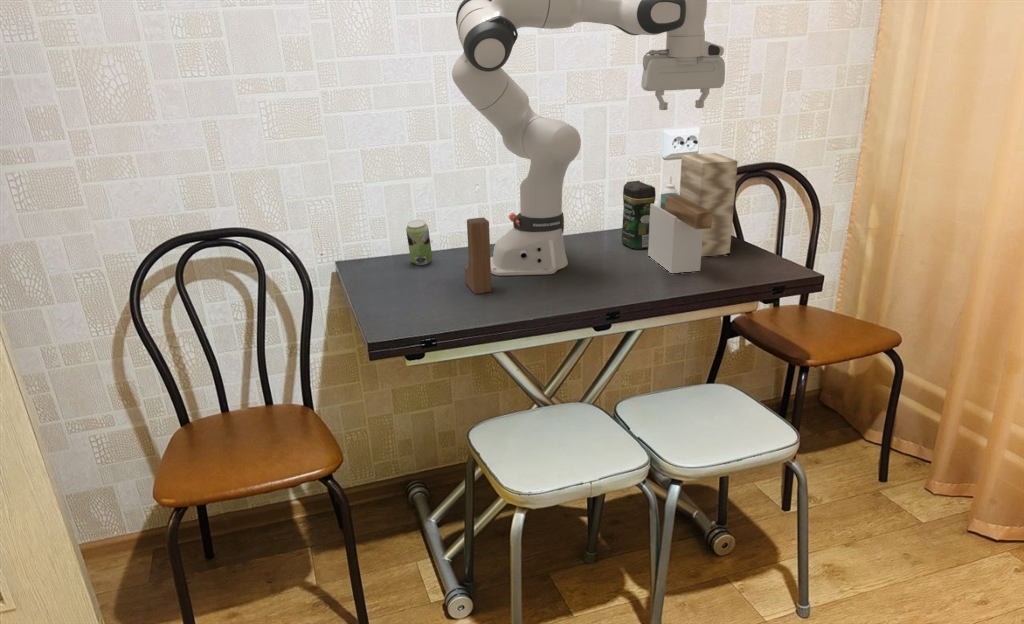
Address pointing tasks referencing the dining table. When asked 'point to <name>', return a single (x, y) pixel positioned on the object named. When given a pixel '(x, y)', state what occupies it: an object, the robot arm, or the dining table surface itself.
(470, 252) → the wooden block
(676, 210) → the brown rectangular block
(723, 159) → the tall patterned box
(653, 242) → the upright white box
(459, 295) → the dining table surface
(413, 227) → the beverage can
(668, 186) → the sauce bottle
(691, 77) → the robot arm
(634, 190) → the coffee jar
